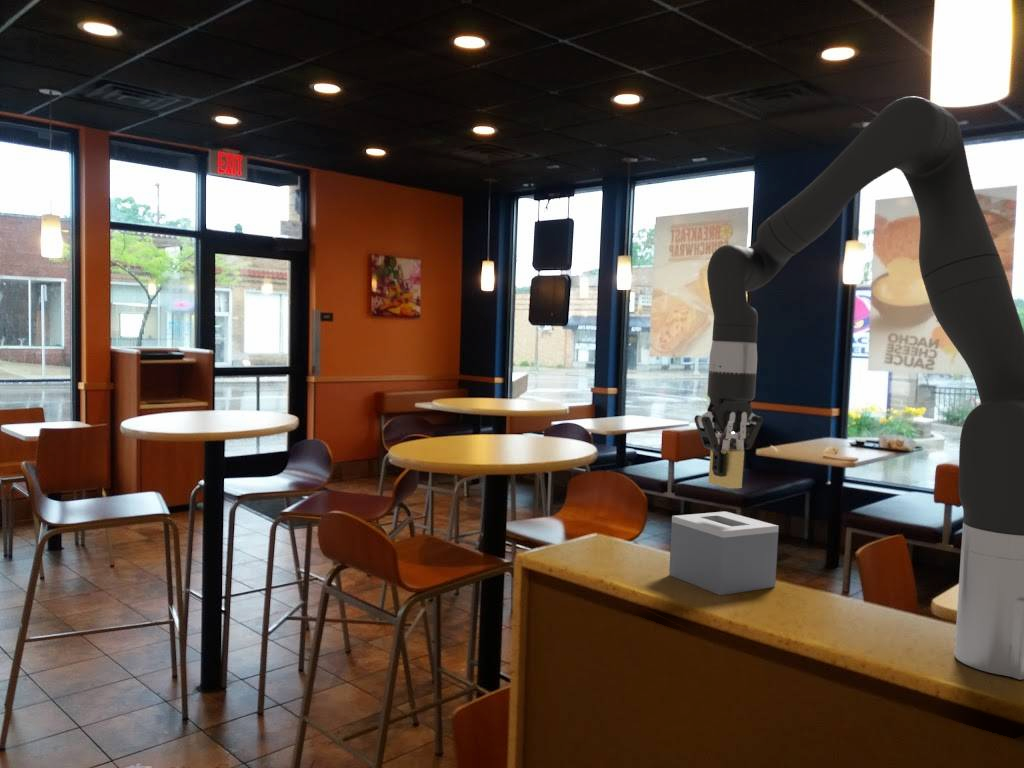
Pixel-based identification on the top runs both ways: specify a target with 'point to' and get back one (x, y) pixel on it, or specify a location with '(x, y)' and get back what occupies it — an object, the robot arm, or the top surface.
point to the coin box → (723, 552)
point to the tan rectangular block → (729, 470)
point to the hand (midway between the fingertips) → (725, 475)
